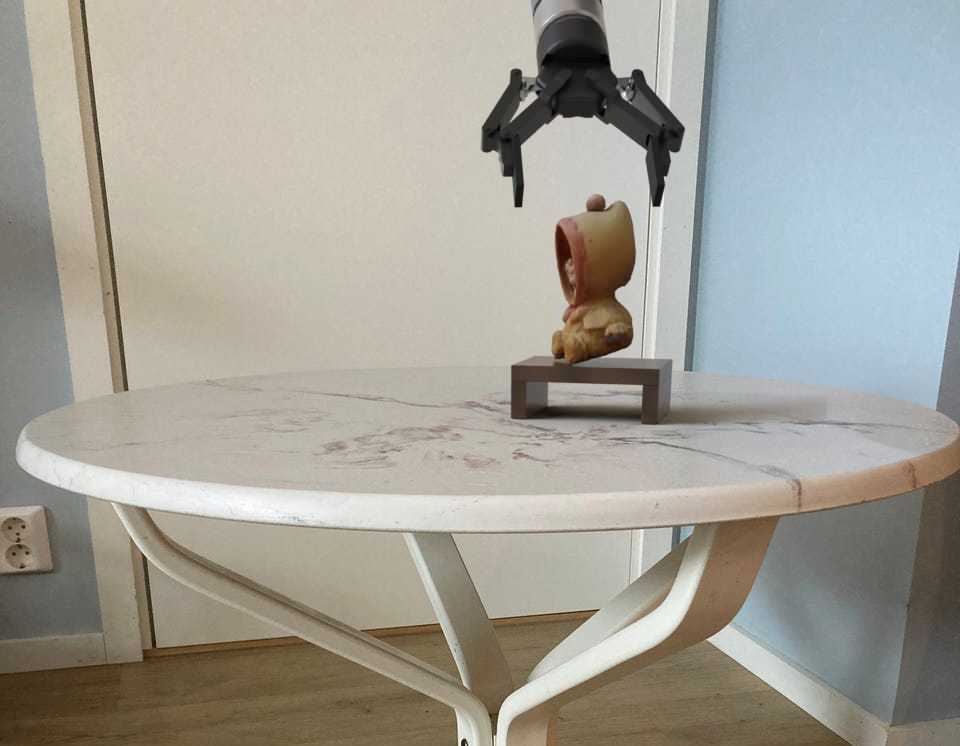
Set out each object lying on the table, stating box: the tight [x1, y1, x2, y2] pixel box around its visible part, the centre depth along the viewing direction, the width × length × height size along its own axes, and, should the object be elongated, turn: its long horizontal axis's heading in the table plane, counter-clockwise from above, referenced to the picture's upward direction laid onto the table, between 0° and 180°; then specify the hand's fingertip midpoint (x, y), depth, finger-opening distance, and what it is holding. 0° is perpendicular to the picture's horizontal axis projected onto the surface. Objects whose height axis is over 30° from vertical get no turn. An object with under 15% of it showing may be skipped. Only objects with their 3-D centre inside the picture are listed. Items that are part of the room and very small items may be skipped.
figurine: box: [551, 193, 637, 366], centre depth 104 cm, size 10×8×15 cm
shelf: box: [510, 355, 674, 425], centre depth 107 cm, size 14×9×5 cm, turn 73°
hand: (589, 196), depth 107 cm, fingers open, 13 cm apart
